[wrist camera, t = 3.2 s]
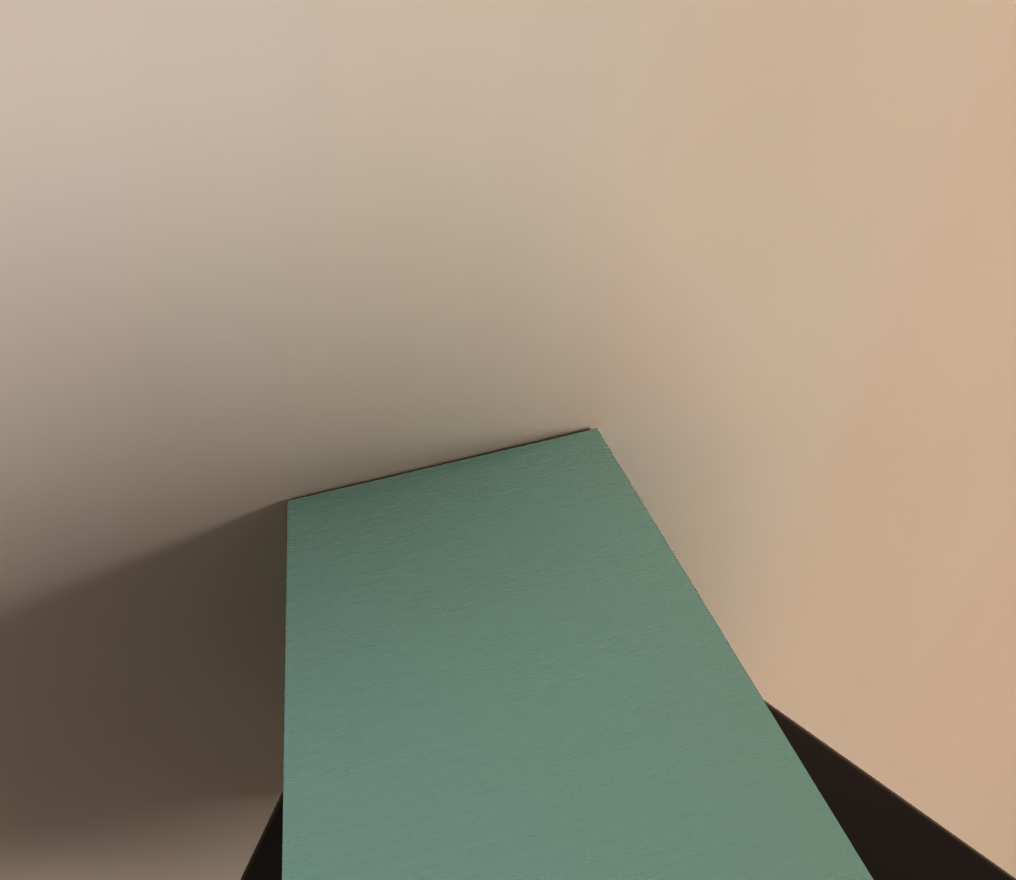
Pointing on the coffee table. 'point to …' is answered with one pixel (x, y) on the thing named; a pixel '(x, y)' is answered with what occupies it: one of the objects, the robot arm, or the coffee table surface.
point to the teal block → (524, 690)
